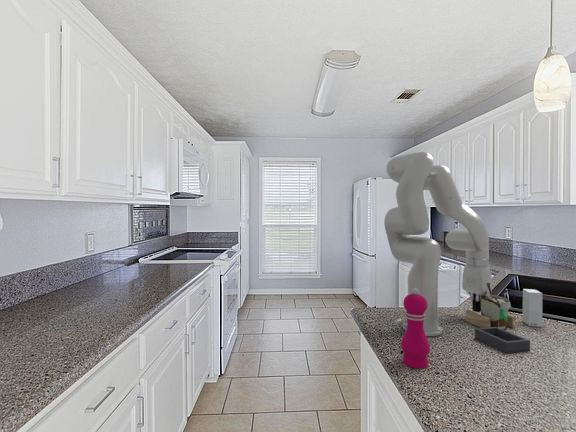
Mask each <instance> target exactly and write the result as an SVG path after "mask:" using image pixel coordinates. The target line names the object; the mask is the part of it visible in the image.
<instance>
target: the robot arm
mask: <svg viewBox="0 0 576 432" xmlns="http://www.w3.org/2000/svg"><path fill="white" fill-rule="evenodd" d="M386 174H387V175H388V177H389V179H391V180H392V181H393V182H396V183H398V184H397V187H396V190H395V199H396V204H397V207H396V206H395V207H392V208H390V209H389V210H388V211H387V212H386V214H385V216H384V222H383V223H384V230H385V234H386V238H387V242H388V245H389V249H390V251H391V255H392V256H393V258H394V259H395V260H397V261H399V262H401V263H407V264H411V265H412V266H411V267H410V270H409V272H408V274H407V295H409V294H412V289H414V288H416V289H418V290H419V295H422V296H423V297H424V298H425V299H426V301H427V305H428V306H427V309H426V311H425V312H424V313H425V314H426V315H425V318H426V319H425V320H424V322H423V328H424V332H425V335H426V337H438V336H440V335H442V334H443V332H444V329H443V327H442V326H440V325H439V311H438V310H439V308H438V307H439V305H438V304H439V291H438V290H439V283H438V282H439V268H440V263H441V257H442V247H441V245H440V244H439V243H438V241H436V239H433V238H431V237H424V236H420V235H425V234H426V233H427V232H428V231H429V229H430V219H429V218H430V217H429V214H428V210H427V206H426V201H425V195H424V191H428V192H429V193H430V196H431V199H432V201H433V202H434V203H433V204H434V206H435V209H436V210H437V211H438V212H437V213H440V214H442V215H443V216H446V217H447V218H450V219H452V220H454V221H456V222H458V223H459V224H461V225H462V226H464V228H466V229H453V230H450V231H449V232H448V233H446V236H445V244H446V246H447V247H449V248H450V249H452V250H456V251H464V252H465V264H464V266H463V271H462V283H461V284H462V285H461V286H462V289H463V291H465V292H466V293H467V294H469V296H470V299H471V301H472V302H471V303H472V304H471V305H472V309H471V311H472V312H475V313H481V299H480V296H481V295H482V294H484V296H485V297H487V298H490V295H492V292H493V279H492V278H493V277H492V271H491V267H490V238H489V237H490V236H489V235H490V234H489V232H488V230H487V228H486V225H485V222H484V221H483V219H482V218H481V216H479V215H478V213H476V212H475V211H474V210H473V209H472V208H470V207H469V206H468V205H467V204H465V203H464V202H463V201H462V198H461V195H460V193H459V191H458V187H457V185H456V183H455V180H454V178H453V175H452V173H451V171H450V169H449V168H448V167H447V166H445V165H440V164H439V165H437V164H436V165H434V158H433V156H432V155H431V154H430V153H428V152H427V151H419V152H412V153H408V154H404V155H399V156H395V157H392V158H391V159H390V160H389V161H388V162H387V165H386ZM414 235H415V236H414ZM394 325H395V326H402V328H403V330H404V331H405V332H406V330H407V318H406V317H405V316H404V317H403V318H402V319H401V318H396V319H394Z"/></svg>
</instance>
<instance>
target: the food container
mask: <svg viewBox="0 0 576 432" xmlns="http://www.w3.org/2000/svg"><path fill="white" fill-rule="evenodd" d="M480 299H481V312H480V315H483V316H485V317H488V318H490V327H498V328H500V329H503V330H505V331H507V326H506V324H507V317H508V314H509V309H512V306H511V302H510V300H509V299H508V298H506V297H503V296H499V295H494V294H490V298H487V297H485V296H484V294H482V295H480Z"/></svg>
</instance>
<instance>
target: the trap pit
mask: <svg viewBox="0 0 576 432" xmlns="http://www.w3.org/2000/svg"><path fill="white" fill-rule="evenodd" d="M474 338H475V339H476V340H477V341H481V342H482V343H485V344H486V345H489V346H491V347H493V348H495V349H496V350H499V351H501V352H503V353H505V354H512V353H513V354H514V353H523V352H530V351H531V340H529V339H528V338H525V337H522V336H521V335H520V336H519V335H517V334H515V333H513V332H511V331H508V330H503V329H500V328H498V327H488V328H481V327H477V328H474Z"/></svg>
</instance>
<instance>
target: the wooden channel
mask: <svg viewBox="0 0 576 432" xmlns="http://www.w3.org/2000/svg"><path fill="white" fill-rule="evenodd" d="M465 322H467V323H469V324H472V325H474V326H476V327H477V328H488V327H490V318H488V317H485V316H483V315H481V313H479V312H475V311H473V310H470V309H467V310H465ZM506 327H509V328H511V329H516V316H515V315H513V314H510V313H508V317H507V324H506Z"/></svg>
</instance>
